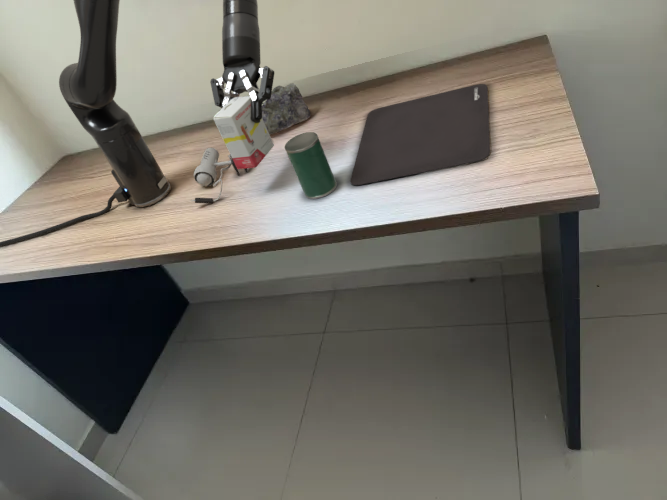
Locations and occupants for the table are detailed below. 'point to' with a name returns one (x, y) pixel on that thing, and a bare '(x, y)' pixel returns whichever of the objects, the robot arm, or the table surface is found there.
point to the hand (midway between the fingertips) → (243, 124)
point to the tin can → (311, 165)
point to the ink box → (243, 133)
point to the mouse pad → (424, 135)
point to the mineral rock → (284, 108)
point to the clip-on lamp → (211, 172)
